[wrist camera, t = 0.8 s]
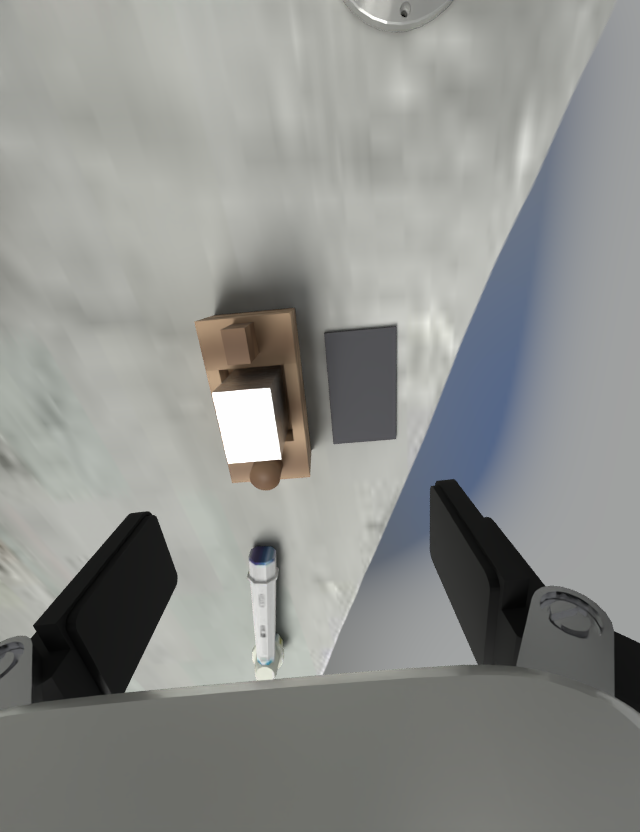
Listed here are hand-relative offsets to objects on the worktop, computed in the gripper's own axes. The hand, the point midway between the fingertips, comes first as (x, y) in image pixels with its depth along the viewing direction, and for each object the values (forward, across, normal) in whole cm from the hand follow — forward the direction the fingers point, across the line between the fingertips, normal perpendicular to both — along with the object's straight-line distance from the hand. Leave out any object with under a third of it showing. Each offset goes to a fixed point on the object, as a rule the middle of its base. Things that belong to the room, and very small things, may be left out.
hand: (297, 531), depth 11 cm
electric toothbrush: (+31, +12, +39) cm, 51 cm away
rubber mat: (+29, -6, +4) cm, 29 cm away
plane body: (+29, +6, +2) cm, 29 cm away
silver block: (+26, +6, +2) cm, 26 cm away
